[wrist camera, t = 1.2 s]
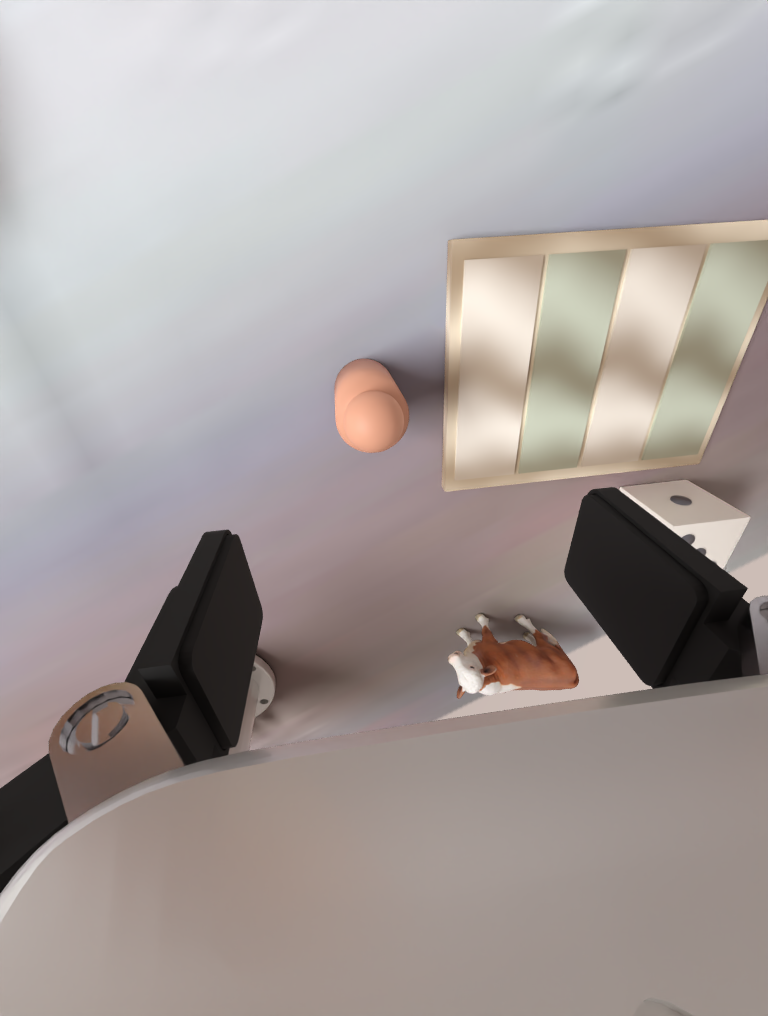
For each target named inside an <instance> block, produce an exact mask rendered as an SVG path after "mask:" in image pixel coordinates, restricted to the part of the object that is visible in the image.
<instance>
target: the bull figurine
mask: <svg viewBox="0 0 768 1016" xmlns="http://www.w3.org/2000/svg"><path fill="white" fill-rule="evenodd" d="M475 619H476V620H477V621H478V623H480V624H481V626H482V628H483V629H482V636H483V637H482V641H481V640H475V641H473V640H472V639H471V636H470V633H469V632H467V631H466V630H465V629H464V628H460V629H458V630H457V631H456V634H457V635H458V636H460V637H461V638H463V639H464V640H465V641H466V642H467V644H468V647H467V648H466V649H465V650H464V655H463V654H462V653H461V652H460V651H455V652H454V653H452V654H451V655H449V656H448V662H449V663H450V664H451V665H453V667H454V668H455V670H456V672H457V677H458V681H459V684H460V686H459V689H458V691H457V698H458V699H460V698H461V697H462V695H463V694H464V693H465V691H467V692H468V693H471V694H474V693H476V692H480V693H482V694H484V695H494V694H496V693H506V692H509V691H512V690H562V689H571V688H575V687H576V686H577V685H578V683H579V677H578V674H577V670H576V668H575V666H574V665H573V663H572V662H571V661H570V659H569V658H568V656H567V655H566V654H565V653H564V651H563V650H562V648H561V647H560V645H559V643H558V642H557V640H556V639H555V638H554V637H553V636H552V635H551V634H550V633H549V632H547V631H546V630H544V629H540V631H541V632H539V631H538V630H537V629H536V628H535V627H534V626H533V625H532V623H531V620H530V619H529V618H528V619H526V618H525V617H524V615H517V616H516V617H515V621H516V622H518V623H519V624H520V625H522V626H524V627H525V628H527V629H528V630H529V631H530V632H531V633H532V635H533V636H534V637H533V636H532V635H531V634H530V633H529V632H526V633H524V635H523V638H524V639H526V640H527V641H529V642H530V643H532V644H533V645H534V646H533V645H532V644H530V643H528V642H525V641H522V640H511V641H506V642H500V643H498V641H497V640H496V639H495V638H494V636H493V635H492V632H491V631H490V629H489V627H488V622H489V619H488V618H486V617H485V616H484V615H483V614H477V615H476V616H475Z"/></svg>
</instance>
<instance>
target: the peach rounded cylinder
mask: <svg viewBox="0 0 768 1016" xmlns="http://www.w3.org/2000/svg"><path fill="white" fill-rule="evenodd" d="M335 416H336V425H337V429H338V431H339V433H340V435H341V437H342V438H343V440H344V441H345V442H346V443H347V444H348V445H350V446H351V447H353V448H355V449H357V450H359V451H362V452H369V453H375V452H381V451H385V450H387V449H389V448H390V447H392V446H394V445H395V444H396V443H397V442H398V441H399V440H400V439H401V438H402V437H403V435H404V433H405V431H406V429H407V426H408V422H409V409H408V405H407V403H406V400H405V398H404V397H403V395H402V393H401V392H400V390H399V388H398V387H397V385H396V383H395V382H394V380H393V378H392V376H391V375H390V373H389V372H388V370H387V369H386V368H385V367H384V366H383V365H382V364H380V363H379V362H377V361H374V360H371V359H357V360H354V361H352V362H350V363H348V364H347V365H345V366H344V367H343V368H342V369H341V371H340V372H339V374H338V376H337V378H336V381H335Z"/></svg>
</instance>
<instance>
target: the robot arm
mask: <svg viewBox="0 0 768 1016" xmlns="http://www.w3.org/2000/svg"><path fill="white" fill-rule="evenodd" d="M564 573H565V578H566V581H567V582H568V584H569V585H570V586H571V588H572V589H573V590H574V592H575V593H576V594H577V596H578V597H579V598H580V600H581V601H582V602H583V604H584V605H585V606H586V608H587V609H588V610H589V612H590V613H591V614H592V615H593V617H594V618H595V619H596V621H597V622H598V623H599V625H600V626H601V627H602V629H603V630H604V631H605V633H606V634H607V635H608V637H609V638H610V639H611V641H612V642H613V643H614V645H615V646H616V647H617V649H618V650H619V651H620V653H621V654H622V655H623V657H624V658H625V659H626V660H627V662H628V663H629V664H630V666H631V667H632V668H633V670H634V671H635V672H636V674H637V675H638V676H639V678H640V679H641V680H642V681H643V682H644V683H645V684H646V685H649V686H651V687H652V688H653V689H648V690H641V691H634V692H628V693H621V694H613V695H606V696H600V697H593V698H586V699H579V700H572V701H565V702H558V703H552V704H545V705H538V706H531V707H524V708H517V709H511V710H504V711H497V712H491V713H484V714H477V715H471V716H464V717H457V718H451V719H444V720H437V721H431V722H424V723H418V724H411V725H405V726H398V727H392V728H385V729H379V730H372V731H366V732H359V733H353V734H346V735H340V736H333V737H327V738H321V739H315V740H309V741H303V742H297V743H291V744H286V745H280V746H274V747H268V748H262V749H257V750H251V751H249V748H250V742H251V736H252V730H253V724H254V719H255V717H256V716H258V715H260V714H261V713H262V712H263V711H265V710H266V709H267V707H268V706H269V705H270V704H271V702H272V700H273V698H274V693H275V687H276V684H275V677H274V674H273V671H272V670H271V668H270V667H269V665H268V664H267V663H265V662H264V661H263V660H262V659H261V658H260V657H258V656H256V650H257V645H258V640H259V635H260V630H261V625H262V619H263V613H262V607H261V604H260V600H259V597H258V594H257V591H256V588H255V585H254V582H253V578H252V575H251V572H250V569H249V566H248V563H247V560H246V557H245V553H244V550H243V547H242V544H241V541H240V538H239V536H238V535H237V534H235V535H232V534H231V532H230V531H229V530H220V531H211V532H205V533H204V534H203V536H202V538H201V540H200V542H199V544H198V546H197V548H196V550H195V552H194V554H193V556H192V558H191V560H190V562H189V564H188V567H187V569H186V571H185V573H184V575H183V577H182V579H181V581H180V583H179V585H178V586H176V587H175V588H173V589H172V590H171V592H170V593H169V595H168V597H167V599H166V601H165V603H164V605H163V607H162V609H161V611H160V613H159V615H158V617H157V619H156V621H155V623H154V625H153V626H152V628H151V630H150V632H149V634H148V636H147V638H146V640H145V642H144V644H143V646H142V648H141V650H140V652H139V654H138V656H137V658H136V660H135V662H134V664H133V666H132V668H131V670H130V672H129V674H128V676H127V678H126V680H125V682H121V683H113V684H109V685H106V686H103V687H100V688H98V689H96V690H95V691H93V692H91V693H89V694H87V695H86V696H84V697H83V698H81V699H80V700H79V701H77V702H76V703H75V704H73V705H72V707H71V708H70V709H69V710H68V711H67V712H66V713H65V714H64V715H63V716H62V717H61V718H60V720H59V721H58V723H57V724H56V726H55V727H54V729H53V731H52V734H51V736H50V739H49V754H47V755H46V756H44V757H43V758H42V759H40V760H39V761H38V762H36V763H35V764H33V765H32V766H31V767H29V768H28V769H27V770H25V771H24V772H22V773H21V774H20V775H18V776H17V777H15V778H14V779H13V780H11V781H10V782H9V783H7V784H6V785H4V786H3V787H2V788H0V1016H768V596H761V597H757V598H755V599H753V600H752V601H751V602H750V604H749V603H747V602H746V601H745V600H744V599H743V598H742V597H743V595H744V594H745V592H746V591H747V587H745V586H744V585H743V584H741V583H740V582H739V581H737V580H736V579H735V578H734V577H732V576H731V575H730V574H728V573H727V572H726V571H724V570H723V569H722V568H721V567H719V566H718V565H717V564H715V563H714V562H713V561H711V560H710V559H709V558H707V557H706V556H705V555H703V554H702V553H701V552H700V551H698V550H697V549H696V548H694V547H693V546H692V545H690V544H689V543H688V542H686V541H685V540H684V539H683V538H681V537H680V536H679V535H677V534H676V533H675V532H673V531H672V530H671V529H669V528H668V527H667V526H666V525H664V524H663V523H662V522H660V521H659V520H658V519H656V518H655V517H654V516H652V515H651V514H650V513H649V512H647V511H646V510H645V509H643V508H642V507H641V506H639V505H638V504H637V503H635V502H634V501H633V500H632V499H630V498H629V497H628V496H626V495H625V494H624V493H622V492H621V491H620V490H618V489H617V488H615V487H610V488H601V489H593V490H591V491H590V492H589V493H588V495H586V496H584V498H583V499H582V503H581V507H580V510H579V514H578V518H577V522H576V526H575V530H574V534H573V538H572V542H571V546H570V550H569V554H568V558H567V562H566V566H565V570H564Z"/></svg>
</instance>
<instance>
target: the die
mask: <svg viewBox="0 0 768 1016" xmlns="http://www.w3.org/2000/svg"><path fill="white" fill-rule="evenodd" d="M620 491H621V492H622V493H624V494H625V495H626V496H628V497H629V498H630V499H632V500H633V501H634V502H635V503H637V504H638V505H639V506H641V507H642V508H643V509H645V510H646V511H647V512H649V513H650V514H651V515H652V516H654V517H655V518H656V519H658V520H659V521H660V522H662V523H663V524H664V525H666V526H667V527H668V528H669V529H671V530H672V531H673V532H675V533H676V534H677V535H679V536H680V537H681V538H683V539H684V540H685V541H686V542H688V543H689V544H690V545H692V546H693V547H694V548H696V549H697V550H698V551H700V552H701V553H702V554H703V555H705V556H706V557H707V558H709V559H710V560H711V561H713V562H714V563H715V564H717V565H718V566H719V567H721V568H722V569H724V567H725V565H726V563H727V561H728V559H729V558H730V556H731V554H732V552H733V550H734V548H735V546H736V544H737V543H738V541H739V539H740V537H741V535H742V533H743V531H744V529H745V528H746V526H747V524H748V522H749V520H750V518H751V517H750V516H749V515H747V514H745V513H743V512H742V511H740V510H738V509H736V508H735V507H733V506H731V505H730V504H728V503H726V502H724V501H723V500H721V499H719V498H717V497H716V496H714V495H712V494H711V493H709V492H707V491H705V490H704V489H702V488H700V487H698V486H697V485H695V484H693V483H691V482H690V481H688V480H678V481H669V482H660V483H651V484H642V485H633V486H625V487H620Z"/></svg>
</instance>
